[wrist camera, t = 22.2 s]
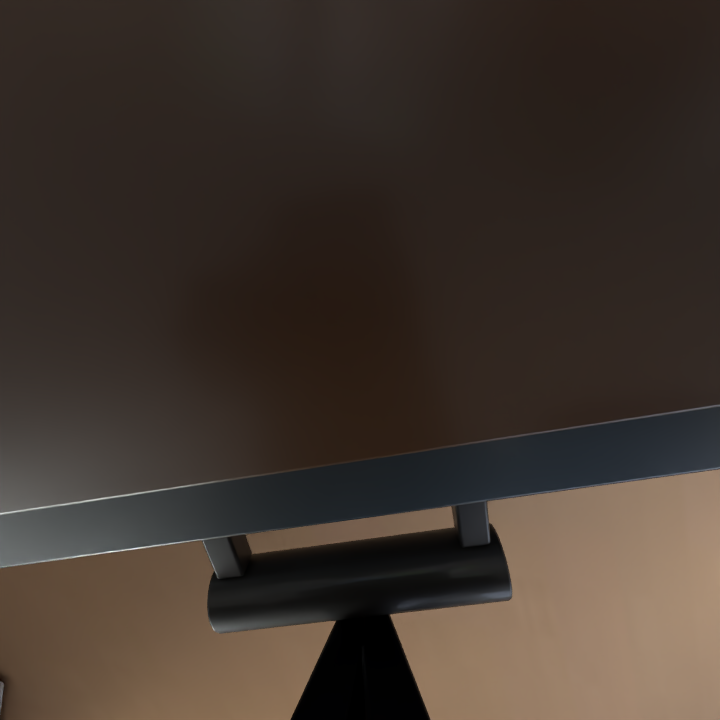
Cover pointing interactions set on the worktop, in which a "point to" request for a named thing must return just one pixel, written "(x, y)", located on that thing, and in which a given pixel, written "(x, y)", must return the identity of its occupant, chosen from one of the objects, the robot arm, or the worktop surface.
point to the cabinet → (345, 231)
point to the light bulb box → (1, 693)
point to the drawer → (362, 500)
